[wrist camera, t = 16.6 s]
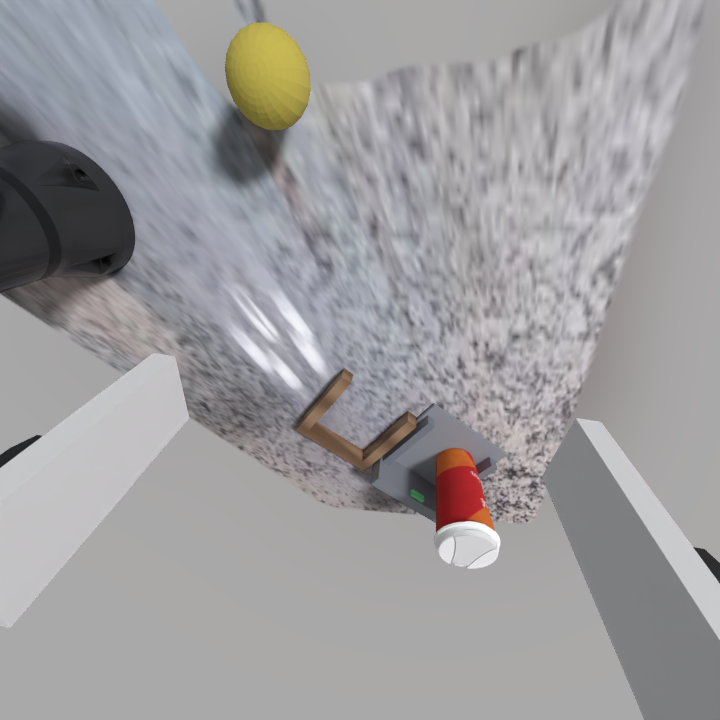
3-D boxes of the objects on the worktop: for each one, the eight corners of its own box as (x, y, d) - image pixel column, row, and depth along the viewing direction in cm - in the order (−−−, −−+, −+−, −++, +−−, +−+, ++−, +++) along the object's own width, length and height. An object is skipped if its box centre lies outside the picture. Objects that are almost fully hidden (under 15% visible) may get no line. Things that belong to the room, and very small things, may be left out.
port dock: (440, 496, 60) (443, 527, 55) (374, 455, 57) (370, 484, 52) (505, 452, 53) (516, 483, 48) (434, 403, 50) (437, 430, 44)
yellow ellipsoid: (310, 149, 35) (278, 145, 26) (251, 112, 34) (199, 96, 25) (338, 75, 32) (312, 43, 23) (273, 32, 31) (221, -18, 22)
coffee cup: (469, 483, 56) (486, 577, 44) (422, 471, 56) (425, 561, 44) (489, 449, 52) (515, 542, 39) (438, 436, 52) (448, 525, 39)
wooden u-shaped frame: (366, 460, 58) (364, 471, 56) (299, 420, 55) (295, 430, 53) (415, 416, 51) (416, 427, 49) (344, 368, 48) (341, 377, 46)
